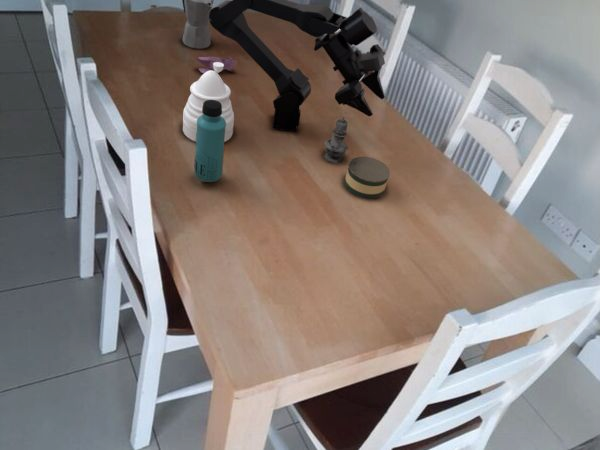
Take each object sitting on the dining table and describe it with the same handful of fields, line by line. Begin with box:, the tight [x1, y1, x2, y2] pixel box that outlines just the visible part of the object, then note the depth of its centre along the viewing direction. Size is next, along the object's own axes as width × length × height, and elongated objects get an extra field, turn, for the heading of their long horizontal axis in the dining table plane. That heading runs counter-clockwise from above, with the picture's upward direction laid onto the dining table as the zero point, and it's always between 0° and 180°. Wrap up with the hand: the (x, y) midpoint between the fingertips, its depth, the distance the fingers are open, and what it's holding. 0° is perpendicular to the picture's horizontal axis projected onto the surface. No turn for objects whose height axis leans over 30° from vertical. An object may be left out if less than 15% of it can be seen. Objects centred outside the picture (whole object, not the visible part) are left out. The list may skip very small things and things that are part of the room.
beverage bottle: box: [193, 100, 226, 183], centre depth 123 cm, size 6×7×20 cm
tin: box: [344, 156, 391, 199], centre depth 136 cm, size 10×10×5 cm
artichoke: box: [196, 56, 238, 74], centre depth 170 cm, size 5×4×12 cm
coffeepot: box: [181, 0, 214, 50], centre depth 178 cm, size 15×9×18 cm, turn 44°
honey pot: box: [182, 62, 235, 143], centre depth 139 cm, size 13×13×18 cm
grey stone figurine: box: [323, 116, 349, 164], centre depth 142 cm, size 6×6×12 cm
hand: (377, 106), depth 141 cm, fingers open, 9 cm apart
